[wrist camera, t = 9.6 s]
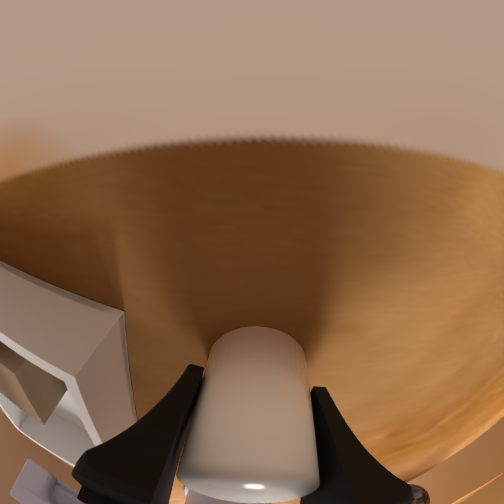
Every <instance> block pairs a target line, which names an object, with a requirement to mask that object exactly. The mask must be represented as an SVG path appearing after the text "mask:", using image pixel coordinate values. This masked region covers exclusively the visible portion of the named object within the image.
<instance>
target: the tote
mask: <svg viewBox="0 0 504 504" xmlns="http://www.w3.org/2000/svg"><path fill="white" fill-rule="evenodd" d="M0 341H1V342H2V343H4V344H5V345H7V346H8V347H9V348H11V349H12V350H14V351H15V352H16V353H18V354H19V355H21V356H22V357H24V358H25V359H27V360H29V361H30V362H32V363H33V364H35V365H36V366H38V367H40V368H41V369H43V370H45V371H46V372H48V373H50V374H52V375H53V376H55V377H57V378H59V379H61V380H62V381H64V382H65V384H66V387H67V389H68V390H67V391H66V393H65V394H64V396H63V397H62V399H61V400H60V402H59V403H58V405H57V406H56V408H55V409H54V411H53V412H52V414H51V415H50V417H49V418H48V420H47V422H46V423H45V425H43V424H42V423H40V422H39V421H37V420H36V419H34V418H33V417H31V416H30V415H29V414H27V413H26V412H24V411H23V410H22V409H20V408H19V407H18V406H16V405H15V404H14V403H12V402H11V401H10V400H9V399H7V398H6V397H5V396H4V395H3V394H1V393H0V407H1V408H2V410H3V411H4V412H5V414H6V415H7V417H8V418H9V419H10V420H11V422H12V423H13V425H14V426H15V427H16V428H17V429H18V430H19V431H20V432H22V433H23V434H24V435H26V436H27V437H29V438H30V439H31V440H33V441H34V442H36V443H37V444H38V445H40V446H41V447H43V448H45V449H46V450H48V451H49V452H51V453H52V454H54V455H56V456H57V457H59V458H61V459H62V460H64V461H66V462H68V463H69V464H71V465H73V466H75V465H76V462H77V461H78V459H79V458H80V457H81V455H82V454H83V453H84V452H85V451H86V450H88V449H91V448H93V447H95V446H97V445H100V444H102V443H104V442H106V441H108V440H109V439H111V438H113V437H115V436H116V435H118V434H120V433H122V432H123V431H125V430H126V429H128V428H129V427H130V426H132V425H133V424H135V423H136V422H137V421H138V419H137V414H136V409H135V403H134V397H133V391H132V384H131V377H130V370H129V361H128V352H127V341H126V329H125V312H124V311H121V310H118V309H115V308H112V307H109V306H106V305H104V304H101V303H98V302H95V301H92V300H90V299H87V298H84V297H82V296H79V295H76V294H74V293H71V292H69V291H66V290H64V289H61V288H59V287H56V286H54V285H52V284H49V283H47V282H45V281H42V280H40V279H38V278H35V277H33V276H31V275H29V274H27V273H25V272H22V271H20V270H18V269H16V268H14V267H12V266H10V265H8V264H6V263H4V262H2V261H0Z"/></svg>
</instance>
